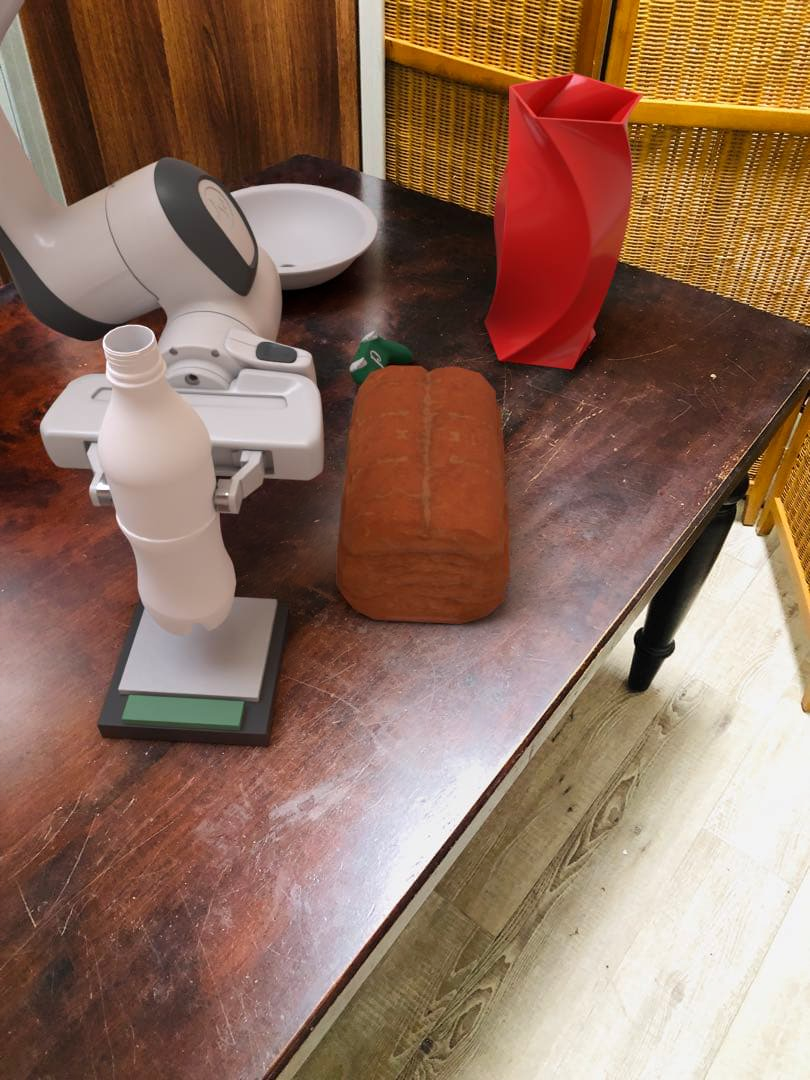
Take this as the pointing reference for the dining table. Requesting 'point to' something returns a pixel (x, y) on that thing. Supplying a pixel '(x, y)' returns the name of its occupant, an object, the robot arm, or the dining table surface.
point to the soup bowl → (307, 230)
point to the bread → (424, 498)
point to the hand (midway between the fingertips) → (164, 503)
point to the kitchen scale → (200, 678)
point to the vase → (559, 216)
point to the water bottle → (163, 487)
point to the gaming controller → (377, 356)
